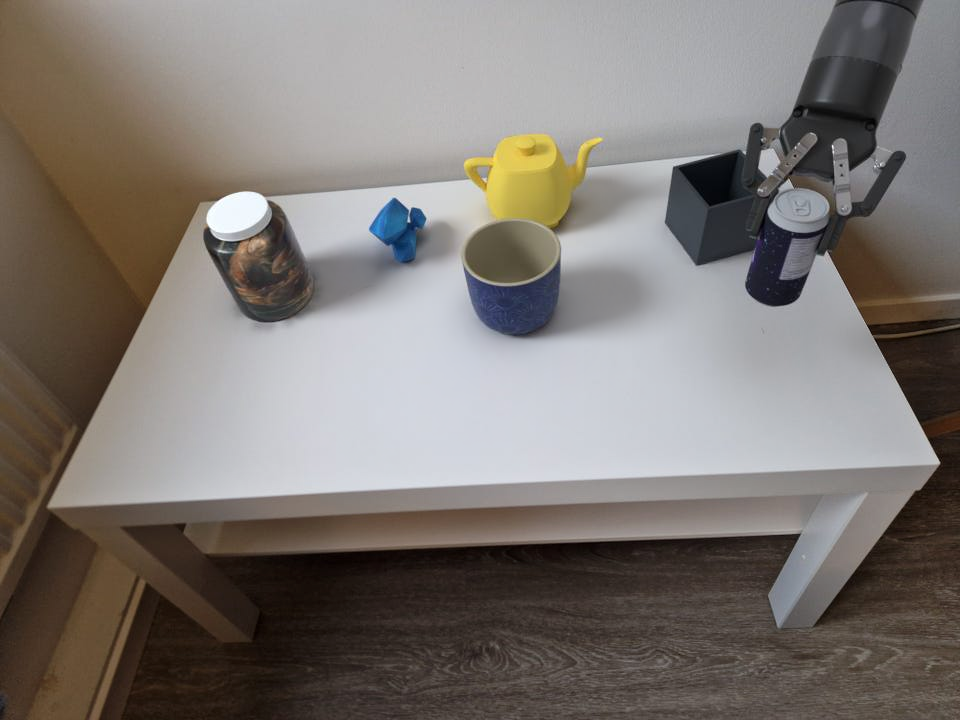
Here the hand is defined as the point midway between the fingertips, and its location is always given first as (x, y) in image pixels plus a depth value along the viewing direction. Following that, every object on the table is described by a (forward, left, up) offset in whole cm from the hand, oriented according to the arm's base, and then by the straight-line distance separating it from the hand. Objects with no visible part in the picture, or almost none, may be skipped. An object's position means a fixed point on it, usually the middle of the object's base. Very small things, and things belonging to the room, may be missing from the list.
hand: (786, 245), depth 64 cm
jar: (+55, -36, -21) cm, 68 cm away
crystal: (+35, -38, -21) cm, 55 cm away
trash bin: (-8, -24, -20) cm, 32 cm away
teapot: (+14, -39, -21) cm, 46 cm away
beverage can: (-1, -1, -8) cm, 9 cm away
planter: (+23, -20, -21) cm, 36 cm away
